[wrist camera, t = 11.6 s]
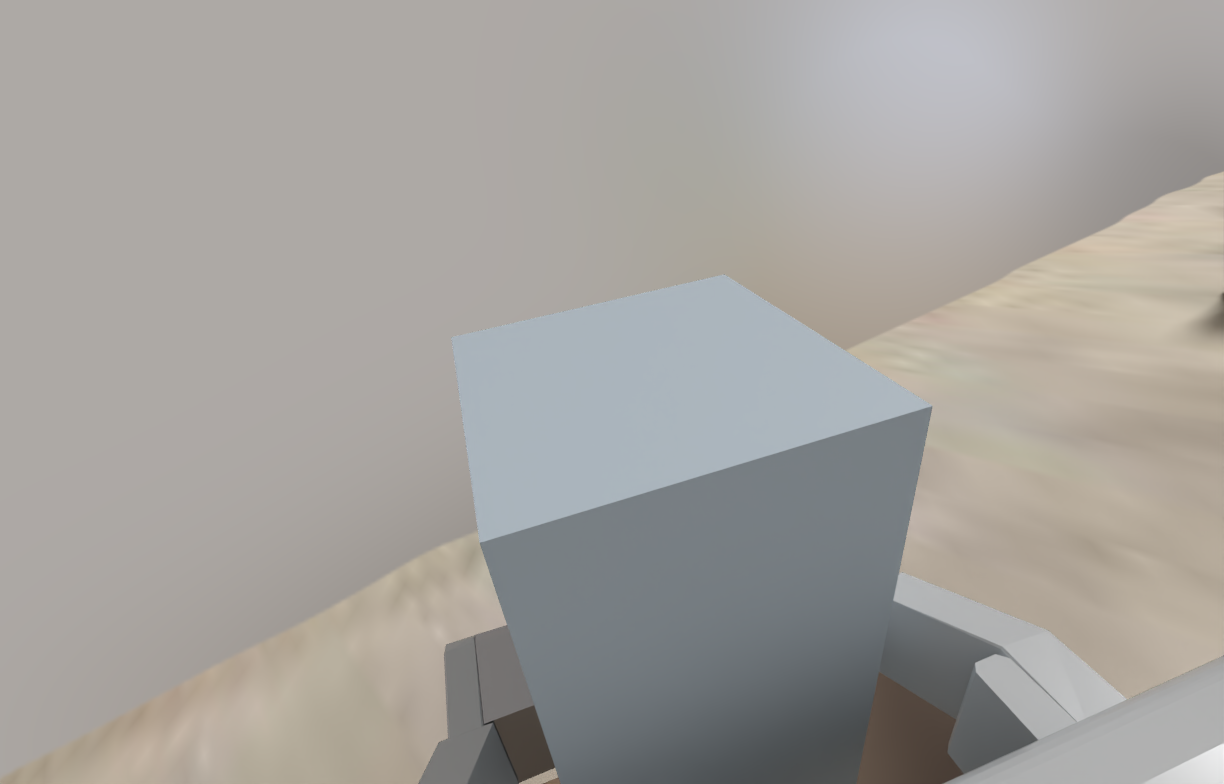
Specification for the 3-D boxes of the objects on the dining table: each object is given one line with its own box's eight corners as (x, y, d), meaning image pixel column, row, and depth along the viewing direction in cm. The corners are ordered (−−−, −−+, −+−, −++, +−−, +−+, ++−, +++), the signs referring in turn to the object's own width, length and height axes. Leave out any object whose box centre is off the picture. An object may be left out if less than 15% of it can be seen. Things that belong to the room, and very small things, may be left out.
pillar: (732, 694, 16) (724, 274, 9) (834, 891, 12) (933, 405, 6) (574, 755, 15) (451, 337, 8) (629, 989, 11) (480, 542, 5)
